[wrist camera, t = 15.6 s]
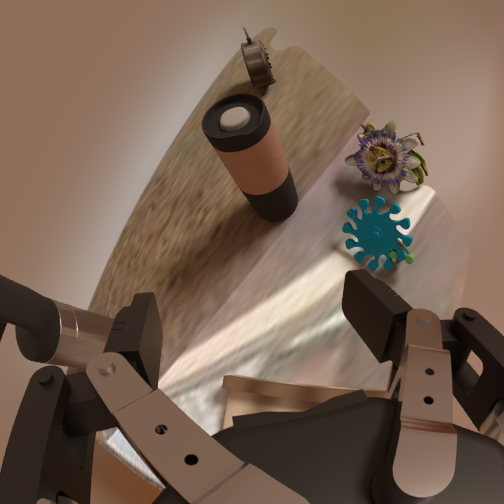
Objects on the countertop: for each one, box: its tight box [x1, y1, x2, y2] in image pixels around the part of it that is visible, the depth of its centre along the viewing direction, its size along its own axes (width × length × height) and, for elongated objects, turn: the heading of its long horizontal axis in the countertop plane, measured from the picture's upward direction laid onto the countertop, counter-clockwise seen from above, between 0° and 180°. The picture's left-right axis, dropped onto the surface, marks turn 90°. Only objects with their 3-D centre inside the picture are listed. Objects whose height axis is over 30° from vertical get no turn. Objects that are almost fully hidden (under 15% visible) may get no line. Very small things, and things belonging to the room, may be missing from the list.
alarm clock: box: [241, 27, 276, 95], centre depth 53 cm, size 11×5×16 cm, turn 5°
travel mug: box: [202, 93, 298, 222], centre depth 38 cm, size 8×8×20 cm
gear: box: [342, 196, 414, 270], centre depth 38 cm, size 11×6×10 cm
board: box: [222, 375, 386, 429], centre depth 32 cm, size 21×10×4 cm, turn 82°
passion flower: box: [345, 121, 428, 194], centre depth 40 cm, size 11×11×12 cm
